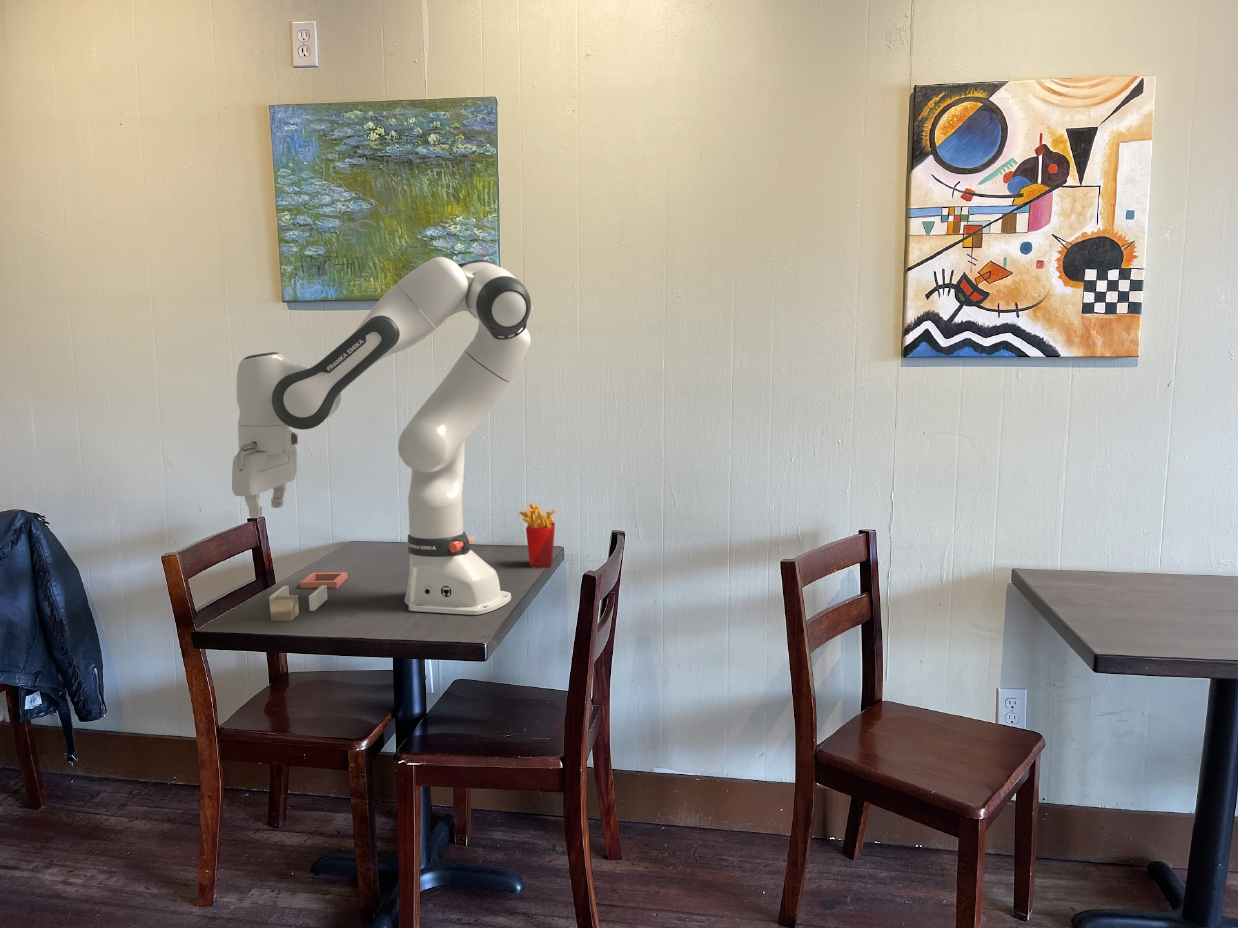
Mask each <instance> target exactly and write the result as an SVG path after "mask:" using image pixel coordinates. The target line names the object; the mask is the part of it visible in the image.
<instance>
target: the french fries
mask: <svg viewBox="0 0 1238 928" xmlns="http://www.w3.org/2000/svg"><path fill="white" fill-rule="evenodd" d="M528 506H529V507H530V508H527V509H526V510H524V511H523V510H520V511H519V515H521V516H523V519H522V521H523V522H524V523H527V526H526V528H525V530H526V533H525V534H526V539H527V549H528V557H529V566H530V567H547V568H548V569H550V568H551V567H552V564H553V558H554V557H553V556H554V546H555V545H554V544H555V528H556V522H555V519H554V517H551V516H552V515H554V514H555V513H556V510H555V509H553V510H551V511H550V510H546V511H545V513H546V515H544V514H543V512H542V511H541V508H540V506H539V505H538V504H537V505H534V503H529V504H528ZM526 511H527V512H526ZM547 568H546V569H547Z"/></svg>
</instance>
